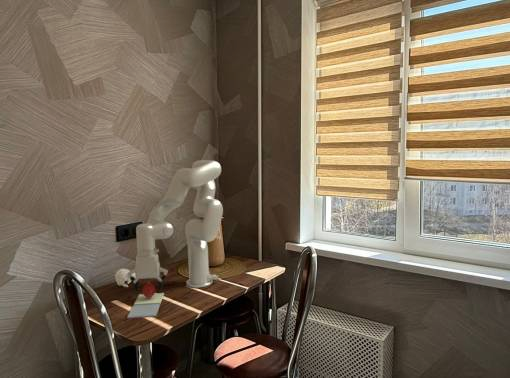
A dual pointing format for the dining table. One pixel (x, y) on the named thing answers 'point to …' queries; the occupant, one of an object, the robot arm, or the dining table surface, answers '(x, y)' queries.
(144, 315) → the toy mat
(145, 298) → the mat
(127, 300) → the dining table surface
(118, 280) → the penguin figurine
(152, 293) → the onion
